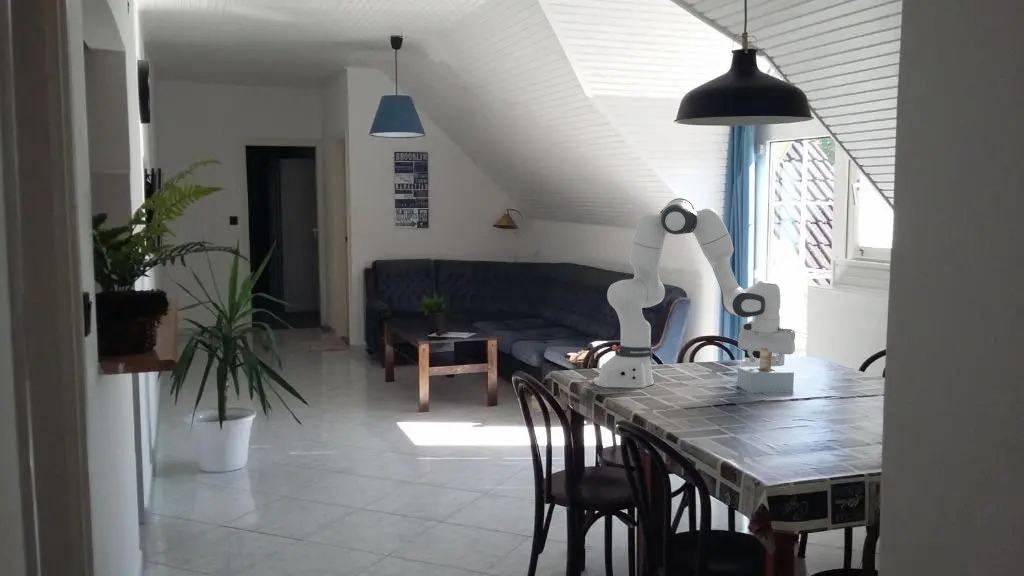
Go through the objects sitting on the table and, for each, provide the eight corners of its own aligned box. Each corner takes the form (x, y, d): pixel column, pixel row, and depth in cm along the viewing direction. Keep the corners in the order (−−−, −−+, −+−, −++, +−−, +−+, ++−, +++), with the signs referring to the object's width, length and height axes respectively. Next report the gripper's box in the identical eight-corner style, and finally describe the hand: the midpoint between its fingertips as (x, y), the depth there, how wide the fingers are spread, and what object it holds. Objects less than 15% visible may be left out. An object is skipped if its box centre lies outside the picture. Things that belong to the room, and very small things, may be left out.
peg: (763, 387, 316) (764, 349, 315) (756, 385, 320) (758, 347, 318) (772, 386, 318) (774, 348, 316) (765, 384, 321) (767, 346, 320)
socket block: (750, 392, 312) (751, 373, 311) (737, 385, 324) (737, 367, 323) (793, 391, 314) (793, 372, 314) (778, 384, 326) (779, 366, 325)
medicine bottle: (763, 381, 331) (764, 350, 330) (744, 381, 332) (745, 350, 330) (759, 377, 339) (760, 347, 337) (740, 377, 339) (741, 346, 337)
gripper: (798, 327, 313) (797, 366, 314) (743, 322, 325) (742, 359, 327) (792, 329, 308) (790, 368, 309) (736, 324, 320) (735, 362, 322)
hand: (765, 364), depth 318 cm, fingers open, 8 cm apart
